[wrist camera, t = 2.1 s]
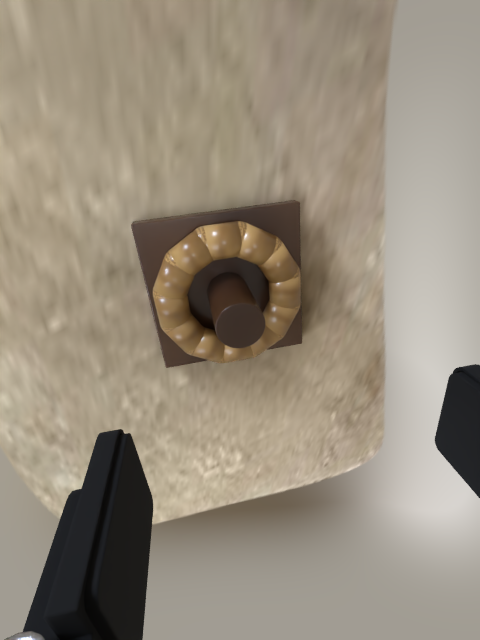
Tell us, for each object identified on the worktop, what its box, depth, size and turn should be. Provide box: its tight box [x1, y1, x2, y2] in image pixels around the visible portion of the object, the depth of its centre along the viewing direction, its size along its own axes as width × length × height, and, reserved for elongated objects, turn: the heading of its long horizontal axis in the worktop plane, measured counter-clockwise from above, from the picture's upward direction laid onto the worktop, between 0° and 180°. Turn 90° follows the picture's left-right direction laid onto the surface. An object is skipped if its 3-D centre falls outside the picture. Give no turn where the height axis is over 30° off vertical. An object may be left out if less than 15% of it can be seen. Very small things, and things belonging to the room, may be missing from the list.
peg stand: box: [131, 200, 302, 368], centre depth 18 cm, size 9×9×5 cm
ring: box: [153, 221, 301, 363], centre depth 19 cm, size 8×8×2 cm
